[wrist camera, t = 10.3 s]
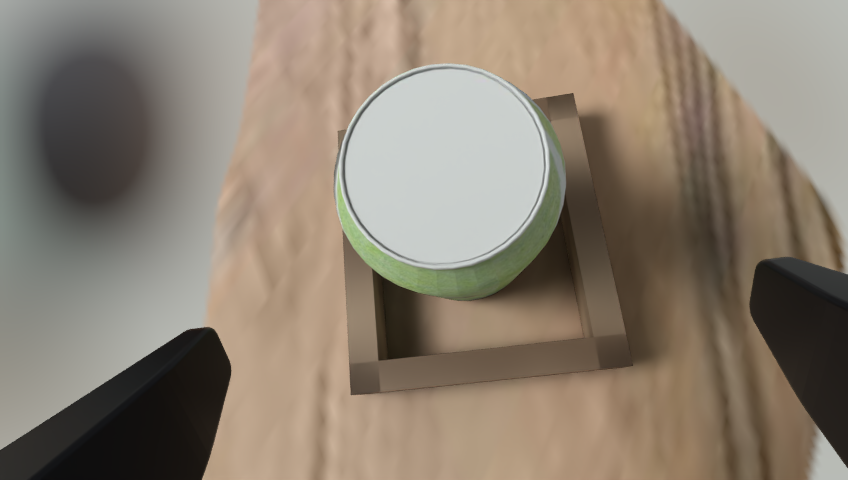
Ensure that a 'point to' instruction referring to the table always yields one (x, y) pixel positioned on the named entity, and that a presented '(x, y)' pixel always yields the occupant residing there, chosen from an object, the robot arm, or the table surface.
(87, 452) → the robot arm
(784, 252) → the table surface
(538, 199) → the beverage can
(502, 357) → the walnut collar
